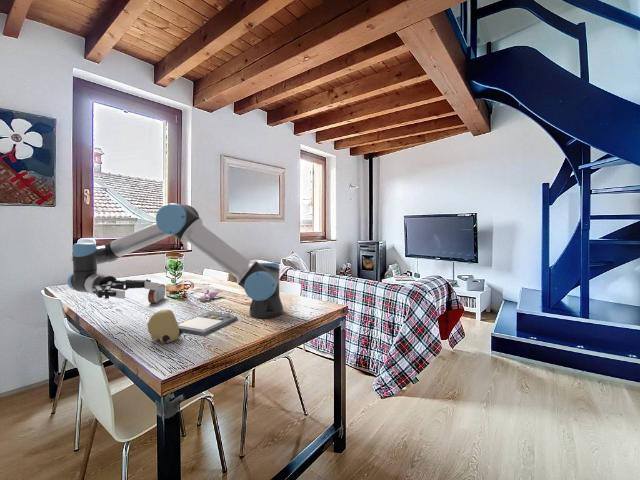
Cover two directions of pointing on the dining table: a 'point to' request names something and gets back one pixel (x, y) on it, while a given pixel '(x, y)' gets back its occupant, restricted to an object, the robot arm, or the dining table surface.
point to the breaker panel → (206, 322)
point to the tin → (156, 294)
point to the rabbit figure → (209, 295)
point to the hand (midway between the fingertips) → (141, 290)
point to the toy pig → (164, 326)
